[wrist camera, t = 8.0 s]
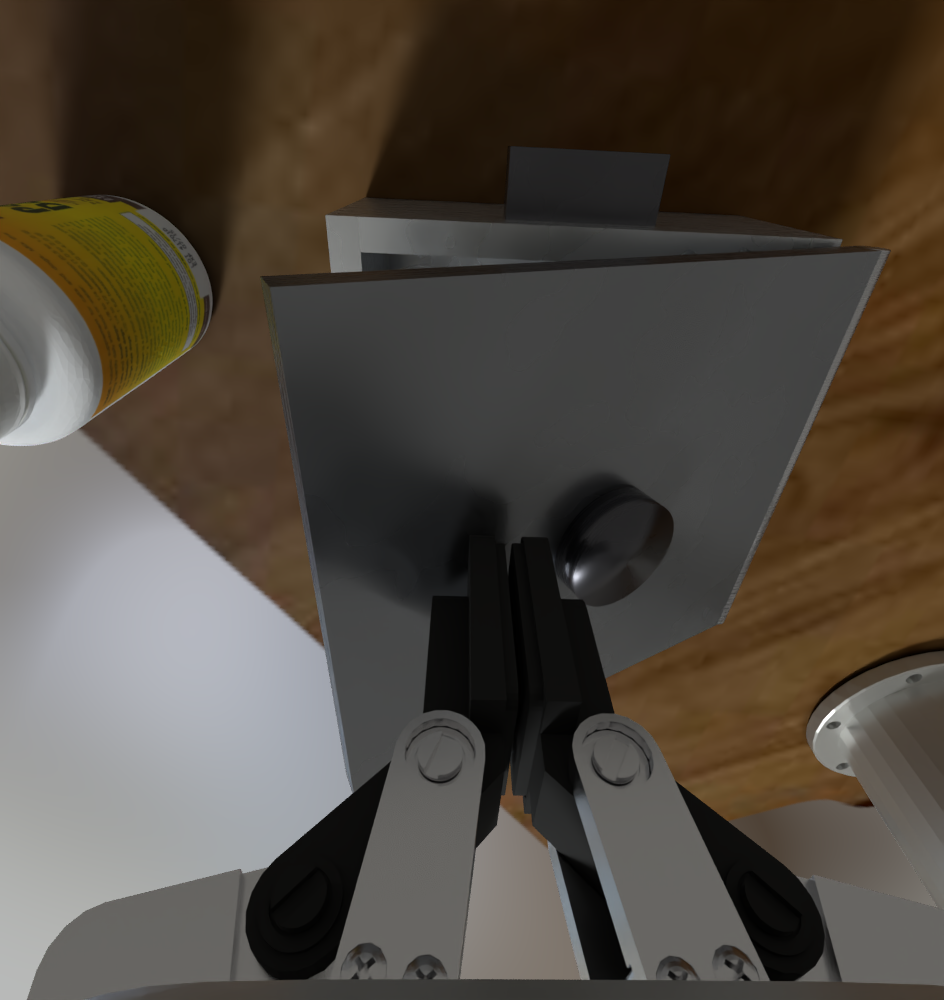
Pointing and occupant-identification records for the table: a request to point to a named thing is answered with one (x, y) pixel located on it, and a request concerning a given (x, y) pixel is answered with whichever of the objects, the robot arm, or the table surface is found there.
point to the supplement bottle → (89, 309)
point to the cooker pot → (548, 219)
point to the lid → (546, 441)
